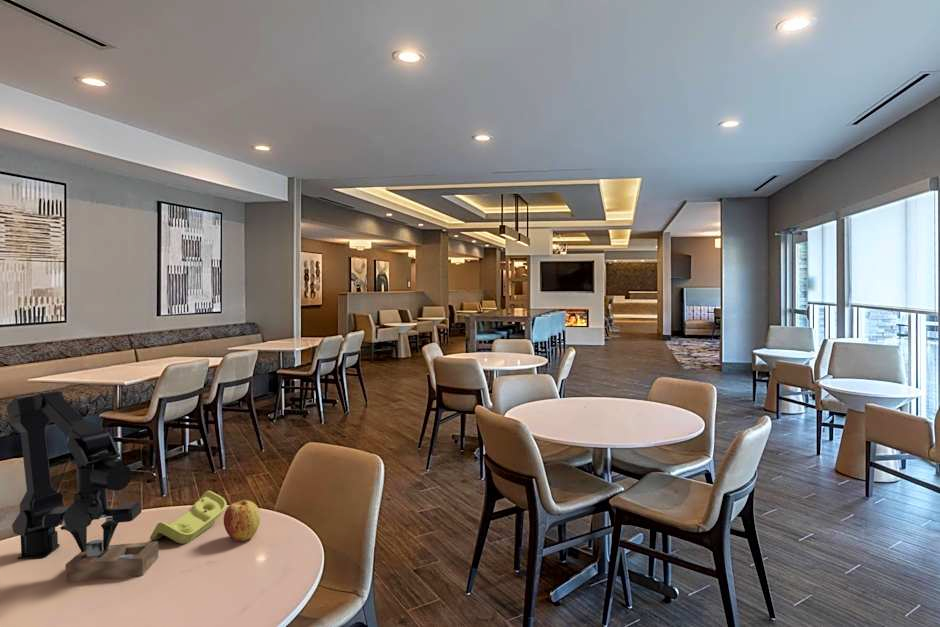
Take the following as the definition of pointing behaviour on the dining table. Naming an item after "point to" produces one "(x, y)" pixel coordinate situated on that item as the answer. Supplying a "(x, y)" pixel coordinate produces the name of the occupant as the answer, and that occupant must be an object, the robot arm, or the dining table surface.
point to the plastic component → (192, 519)
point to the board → (113, 562)
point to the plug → (94, 549)
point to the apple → (242, 520)
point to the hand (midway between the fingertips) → (94, 550)
